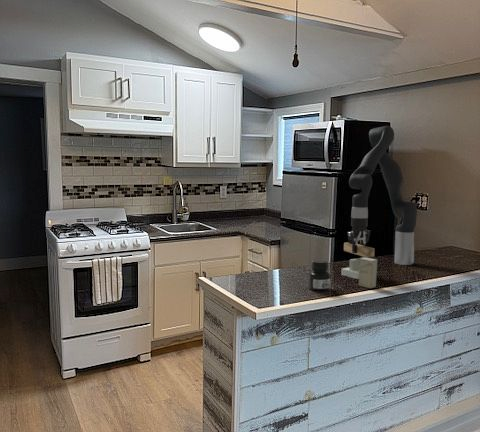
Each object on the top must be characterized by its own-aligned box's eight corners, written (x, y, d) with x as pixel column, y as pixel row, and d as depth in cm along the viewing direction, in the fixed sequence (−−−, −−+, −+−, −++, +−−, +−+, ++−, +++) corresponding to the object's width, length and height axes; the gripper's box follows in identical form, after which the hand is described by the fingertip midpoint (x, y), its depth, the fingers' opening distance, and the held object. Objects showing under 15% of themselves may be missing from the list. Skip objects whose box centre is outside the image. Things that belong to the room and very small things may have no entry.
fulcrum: (358, 271, 227) (358, 255, 226) (374, 275, 219) (375, 259, 218) (341, 274, 220) (341, 258, 219) (357, 279, 212) (357, 262, 211)
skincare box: (358, 285, 200) (359, 258, 199) (364, 284, 203) (364, 257, 202) (371, 288, 196) (372, 260, 195) (376, 286, 199) (377, 259, 198)
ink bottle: (315, 292, 190) (315, 264, 189) (304, 287, 198) (304, 260, 197) (334, 290, 194) (335, 262, 192) (323, 285, 202) (323, 258, 201)
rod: (350, 250, 227) (350, 242, 227) (374, 257, 211) (374, 248, 210) (343, 250, 226) (343, 242, 225) (367, 257, 209) (367, 249, 209)
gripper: (363, 215, 224) (362, 249, 225) (342, 216, 216) (341, 252, 217) (376, 216, 217) (374, 252, 219) (355, 218, 209) (354, 255, 211)
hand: (358, 252), depth 218 cm, fingers closed on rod, 4 cm apart
